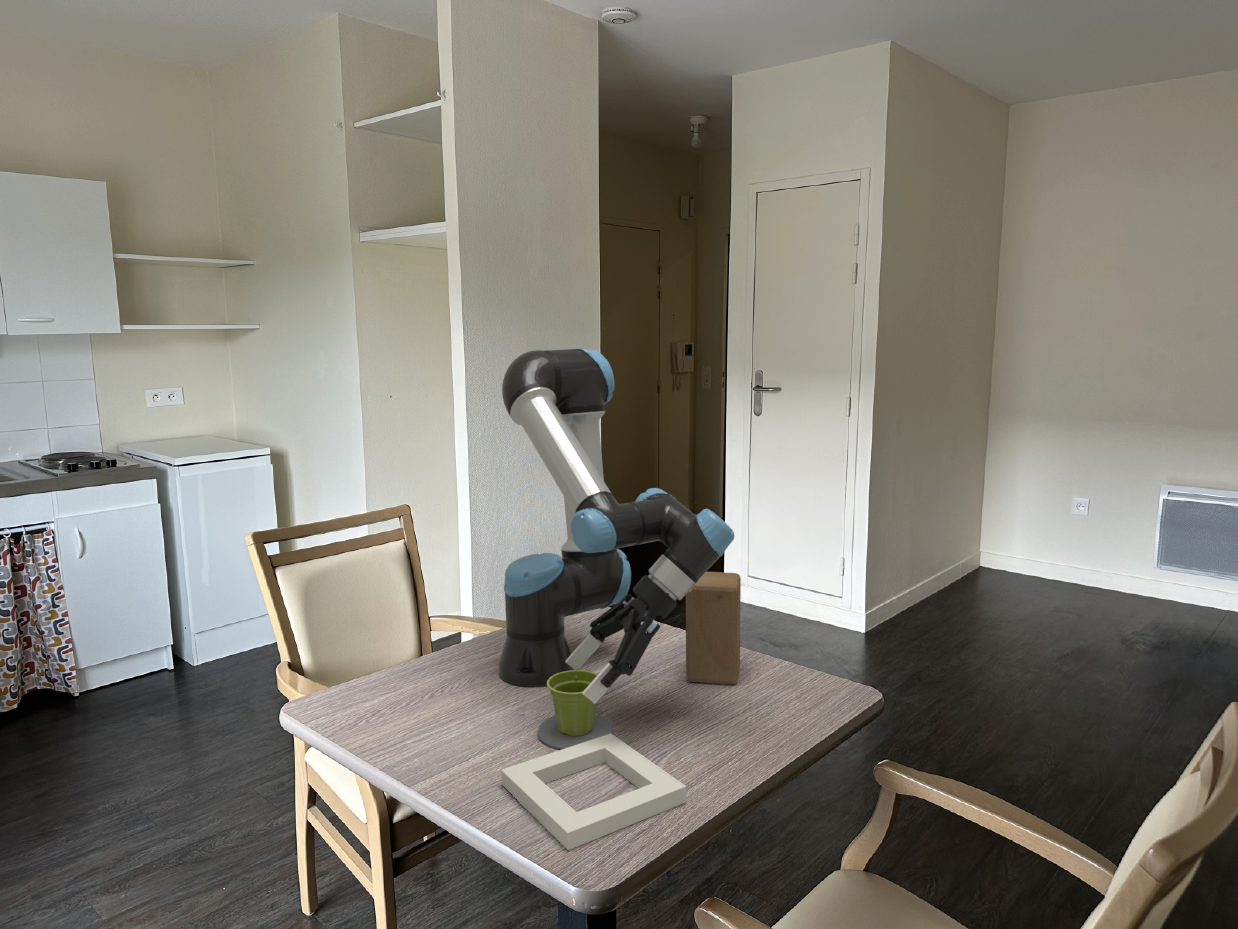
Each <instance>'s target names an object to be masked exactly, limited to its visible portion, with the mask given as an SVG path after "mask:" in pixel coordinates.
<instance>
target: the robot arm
mask: <svg viewBox="0 0 1238 929" xmlns="http://www.w3.org/2000/svg"><path fill="white" fill-rule="evenodd" d="M501 387H502V389H501V394H502V400H503V405H504V407H505V410H506V411H507V413H508V415H509V417H510V419H511V420H512V421H513V423H515V424H516V425H519V426H521V427H522V428H523V430H524V432H525V433H526V435H527V437H528V438H529V440H530V442H531V443H532V445H533V446H534V449H535V450H536V452H537V453H538V455H539V457H540V458H541V460H542V462H543V464H544V466H545V467H546V468H547V470H548V472H549V473H550V476H552V479H553V481H554V482H555V484H556V485H557V487H558V490H560V493H561V494H562V496H563V501H564V503H563V504H564V513H565V514H564V515H565V523H566V524H565V526H566V535H567V538H566V541H565V543H564V544H563V545H562V546H561V547H560V548H561V556H560V554H556V553H551V552H543V553H540V554H539V553H533V554H528V555H524V556H522V557H519V558H517V559H515V560H513V561H512V562H511V563H510V564H509V565H508V566H507V568H506V569H505V572H504V584H503V590H504V591H503V592H504V601H505V602H504V603H505V604H504V605H505V623H506V624H505V626H506V627H505V628H506V638H505V642H504V645H503V648H502V652H501V655H500V659H499V661H498V662H499V663H498V671H499V672H498V674H499V677H500V678H501V679H502V680H503V681H504V682H506V683H508V684H511V685H515V686H520V687H544V686H547V681H548V679H549V678H550V677H551V676H553V675H555V674H557V673H560V672H564V671H570V670H581V668H582V666H584V664H585V663H586V662H588V660H589V658H590V657H592V655H594V653H595V652H596V651H597V650H598V648H599V647H600V646H601V645H602V644H604V642H605V641H606V640H605V639H606V638H608V637H610V636H612V635H615V633H618V632H620V631H622V630H623V632H624V635H623V637H622V640H621V642H620V645H619V646H618V649H617V650H616V653H615V655H614V658H613V659H611V660H608V663H607V664H606V665H605V666H604V667H603V669H602V670H601V671H600V672H599V673H597V674H598V675H597V677H596V678H595V679H594V680H593V681H592V682H591V683H590V684H589V686H588V687H587V688H586V689H585V690H584V691H583V692H582V693H583V695H584V696H586V697H587V698H588V699H589V700H591V701H592V702H593V703H594V704H596V705H597V702H599V700H600V699H601V698H602V697H603V696H604V695H605V693H607V691H608V690H609V689H610V688H611V687H612V686H613V684H614V683H616V681H617V680H618V679H619V677H620V676H622V675H624V676H625V675H627V676H628V677H630V676H631V675H633V674H634V671H635V670H636V668H637V666H638V665H639V663H640V661H641V659H642V657H643V656H644V653H645V651H646V650H647V648H648V646H649V644H650V643H651V640H653V637H654V636H655V635H656V633H657V632H658V631H659V630H660V628H661V625H660V624H659V623H658V622H657V621H656V620H655V619H656V618H657V616H658V617H660V618H661V619H666V618H667V617H669V615H670V613H672V611H674V609H675V608H676V607H677V604H678V603H677V602H676V601H677V600H678V601H681V600H683V598H684V597H686V594H687V593H688V592H691V591H692V587H693V586H694V585H695V583H697V581H698V580H699V579H700V577H701V576H702V575H703V574H704V573H705V572H708V571H709V569H710V568H712V566H713V565H714V564H715V563H716V562H717V561H718V560H719V558H721V557H722V556H723V555H724V553H725V552H726V550H727V549H728V548H729V546H730V545H731V544H732V543H733V541H734V539H735V532H734V530H733V529H732V528H731V527H730V525H728V523H727V522H725V521H724V520H723V519H722V518H721V517H720V516H719V515H717V514H716V513H715V512H714V511H712V510H710V509H709V508H705V509H704V508H703V509H702V510H701V511H700V512H699V513H697V514H696V513H694V512H692V511H691V510H690V508H688V507H686V506H685V505H684V504H683V503H681V502H680V501H678V499H677V498H676V497H674V496H673V495H672V494H669V493H668V492H666V491H665V490H663V489H661V488H658V487H652V488H648V489H646V490H645V491H644V492H641V493H640V494H639V495H638V496H637V498H636V499H635V501H632V502H626V503H619V502H618V501H617V500H616V498H615V497H614V495H613V494H612V492H611V491H610V489H609V487H608V486H607V484H606V482H605V479H604V478H605V477H604V468H603V457H602V456H603V454H602V445H601V433H600V420H601V418H602V417H603V416H604V415H605V414H606V406H605V405H606V404H607V403H608V402H610V401H611V400H612V398H613V396H614V395H613V393H614V392H615V377H614V373H613V369H612V366H611V365H610V362H609V361H608V359H607V358H605V356H604V355H603V354H602V353H601V352H599V351H597V350H595V349H587V348H586V349H584V348H572V349H571V348H570V349H568V348H567V349H552V350H549V349H548V350H547V349H545V350H542V349H540V350H539V349H538V350H529V351H527V352H525V353H524V352H523V353H522V354H519V356H518V357H517V358H515V359H514V360H513V361H512V362H511V363H510V364H509V366H508V367H507V369H506V371H505V373H504V376H503V380H502V386H501ZM657 541H658V542H661V543H662V544H664V546H666V547H667V549H666V550H665V551H664V553H663V554H661V555H660V557H658V559H657V560H656V561H655V562H654V563H653V565H652V566H651V567H650V568H649V569H648V573H649V574H648V575H643V576H642V577H641V578H640V580H639V581H638V582H637V583H636V584H635V585H634V586H633V587H632V592H633V594H634V595H635V596H636V597H633V596H632V595H631V594H630V593H628V592H629V590H630V586H631V581H632V570H631V566H630V565H631V564H630V562H629V560H627V559H628V557H627V555H626V554H625V553H624V551H622V550H621V548H625V547H626V548H627V547H631V546H636V545H642V544H643V545H644V544H647V543H648V544H649V543H653V542H657ZM692 580H693V581H694V582H695V583H694V582H693V581H692ZM610 606H612V607H610ZM608 607H610V608H609V609H608V610H605V612H604V613H602V614H601V615H599V616H598V617H597V618H595V619H594V620H592V622H591V623H590V625H589V627H590V628H591V629H590V630H589V634H588V635H587V636H586V637H585V639H584V640H582V641H581V643H579V645H578V646H577V647H576V648H575V649H574V650H573V652H572V651H571V648H570V645H569V642H568V639H567V636H566V633H565V632H566V631H565V618H566V617H569V616H573V615H577V614H582V613H586V612H591V611H595V610H598V609H599V610H604V609H606V608H608Z"/></svg>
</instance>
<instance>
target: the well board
mask: <svg viewBox="0 0 1238 929" xmlns="http://www.w3.org/2000/svg"><path fill="white" fill-rule="evenodd" d="M602 764H606V765H607V766H609V767H610V768H611V769H613V770H614V771H615V772H616V773H618V774H620V776H622V777H623V778H625V779H626V780H627V781H628V782H630V784H633V785H634V787H637V789H635V790H632V791H628V792H626V793H623V794H621V795H619V796H616V797H614V798H610V799H608V800H605V801H603V802H600V803H597V804H595V805H592V806H590V807H587V808H584V809H582V810H580V811H579V810H578V811H577V810H575V809H574V808H573V807H571V806H570V805H569V804H568V803H567V802H566V801H565V800H564V799H562V797H560V796H559V795H558V794H557V793H556V792H555V791H553V790H552V789H551V788H550V786H548V785H547V784H549V783H550V782H554V781H556V780H559V779H562V778H564V777H567V776H571V775H573V774H577V773H579V772H582V771H585V770H588V769H591V768H593V767H596V766H599V765H602ZM500 774H501V775H500V776H501V786H502V785H503V786H504V787H505V788H506V789H507V790H508V791H509V792H510V793H511V794H512V795H513V796H512V795H511V794H510V793H509V792H508V791H507V790H506V789H505V788H504V787H503V786H502V787H503V788H504V789H505V790H506V791H507V792H508V793H509V794H510V795H511V796H512V797H513V798H514V797H515V798H516V799H517V801H518V803H519V804H520V805H521V806H522V807H524V809H526V810H527V812H529V813H530V814H531V815H532V816H533V818H535V820H537V821H538V822H539V824H541V825H542V826H543V827H544V828H545V829H546V830H547V831H548V833H550V834H551V835H552V836H553V837H554V839H556V840H557V841H558V842H559V843H560V844H561V846H563V847H564V848H565V849H566V850H567V851H570V850H572V849H575V848H577V847H580V846H583V845H584V844H585V845H586V844H588V843H589V842H592V841H595V840H597V839H599V838H602V837H604V836H607V835H610V834H611V833H614V832H616V831H619V830H622V829H623V828H627V827H629V826H631V825H634V824H637V823H639V822H641V821H643V820H646V819H649V818H651V817H654V816H655V815H658V814H661V813H663V812H666V811H668V810H671V809H673V808H675V807H678V806H680V805H683V804H686V803H687V786H686V785H685V784H684V783H682V782H681V781H679V779H676V778H675V777H673V776H672V775H671V774H669V773H668V772H666V771H665V770H663V769H662V767H659V766H658V765H657V764H655V763H654V762H653V761H651V760H650V759H648V758H647V757H645V756H644V755H642V754H641V753H640V752H638V751H636V750H635V749H634V748H633V747H631V746H630V745H628V744H627V743H625V742H624V741H623V740H621V739H620V738H618V737H616V736H615V735H614V734H613V735H612V734H608V735H605V736H602V737H599V738H596V739H593V740H590V741H586V742H583V743H580V744H577V745H574V746H571V747H568V748H565V749H562V750H557V751H553V752H551V753H548V754H545V755H541V756H539V757H535V758H532V759H530V760H527V761H523V762H520V763H517V764H514V765H511V766H507V767H505V768H502V769H501V770H500ZM553 780H554V781H553ZM515 798H514V799H515ZM516 799H515V800H516Z"/></svg>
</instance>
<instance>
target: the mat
mask: <svg viewBox="0 0 1238 929" xmlns="http://www.w3.org/2000/svg"><path fill="white" fill-rule="evenodd" d="M608 734H612V735H614V734H615V733H614V725H613V723H612V722H611V720H609V719H608V718H606V717H605V716H603V715H600V714H597V713H595V718H594V726H593V729H592V730H590V731H589V732H588V733H587V734H585V735H581V736H569V735H568V734H566V733H561V732H560V731H559V730H558V726H557V719H556V715H553V716H551V717H549V718H547V719H546V720H544V721H543V722H541V724H540V725H539V726H538V729H537V737H538V740H539V741H540V742H541V743H542V744H544V745H545V746H547V747H549V748H551V749H555V750H557V751H559V749H560V750H562V749H565V748H568V747H571V746H574V745H577V744H580V743H583V742H586V741H590V740H593V739H596V738H599V737H602V736H605V735H608Z"/></svg>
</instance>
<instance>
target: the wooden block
mask: <svg viewBox="0 0 1238 929" xmlns="http://www.w3.org/2000/svg"><path fill="white" fill-rule="evenodd" d="M692 581H693V580H692ZM693 582H694V581H693ZM694 583H695V582H694ZM741 585H742V584H741V575H740V574H739V573H737V572H724V571H723V572H722V571H721V572H720V571H719V572H718V571H706V572H705V573H704V574H703V575H702V576H701V577H700V579H699V580H698V581H697V583H695V585H694V586H693V587H692V591H691V592H688V593H687V594H686V595H685V677H686V680H687V681H689V682H694V683H706V684H721V685H735V684H737V682H738V678H739V673H740V671H739V670H740V666H741V596H742V595H741V590H742V589H741V587H742V586H741Z"/></svg>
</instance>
